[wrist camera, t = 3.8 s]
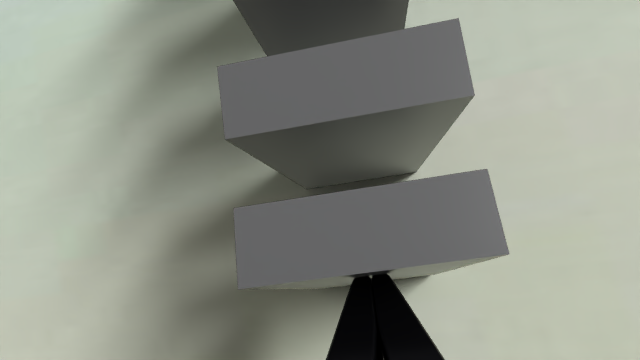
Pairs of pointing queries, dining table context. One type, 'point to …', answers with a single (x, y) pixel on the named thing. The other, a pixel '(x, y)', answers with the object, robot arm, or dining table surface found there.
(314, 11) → the domino
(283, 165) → the domino
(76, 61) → the dining table surface
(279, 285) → the domino
